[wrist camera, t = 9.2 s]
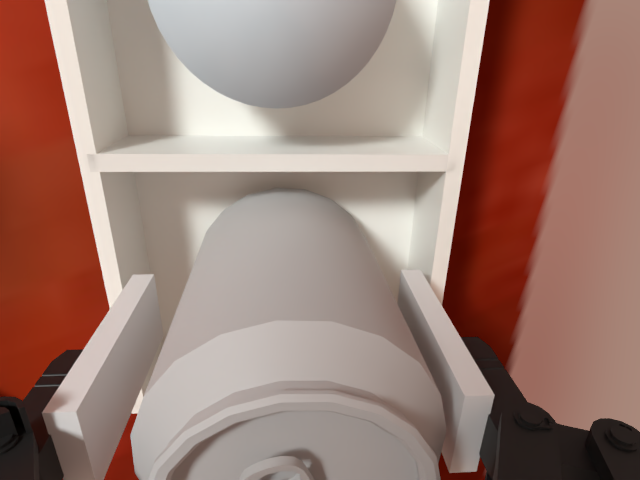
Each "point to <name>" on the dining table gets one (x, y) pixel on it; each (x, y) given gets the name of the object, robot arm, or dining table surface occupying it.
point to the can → (288, 358)
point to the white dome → (274, 45)
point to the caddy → (265, 142)
